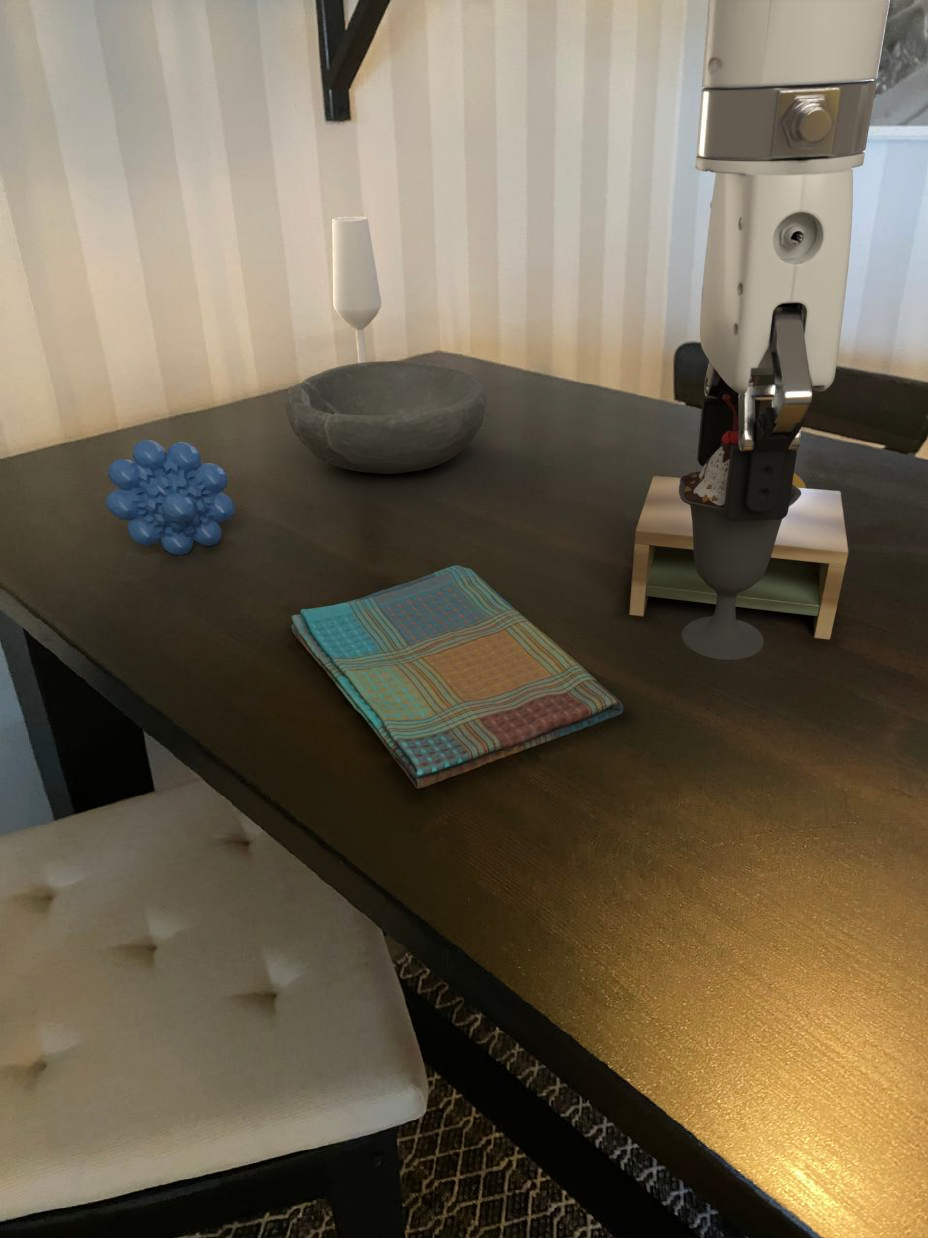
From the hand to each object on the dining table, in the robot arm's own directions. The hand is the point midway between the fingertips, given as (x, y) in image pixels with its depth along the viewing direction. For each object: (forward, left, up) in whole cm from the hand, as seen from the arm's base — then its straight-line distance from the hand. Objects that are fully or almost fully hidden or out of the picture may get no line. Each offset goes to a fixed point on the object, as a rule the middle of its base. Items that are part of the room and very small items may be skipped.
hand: (738, 487), depth 51 cm
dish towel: (+18, -10, -19) cm, 28 cm away
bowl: (+26, -54, -19) cm, 63 cm away
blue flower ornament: (+44, -30, -19) cm, 57 cm away
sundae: (0, 0, -10) cm, 10 cm away
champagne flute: (+33, -82, -19) cm, 91 cm away
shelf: (-7, -22, -19) cm, 30 cm away
